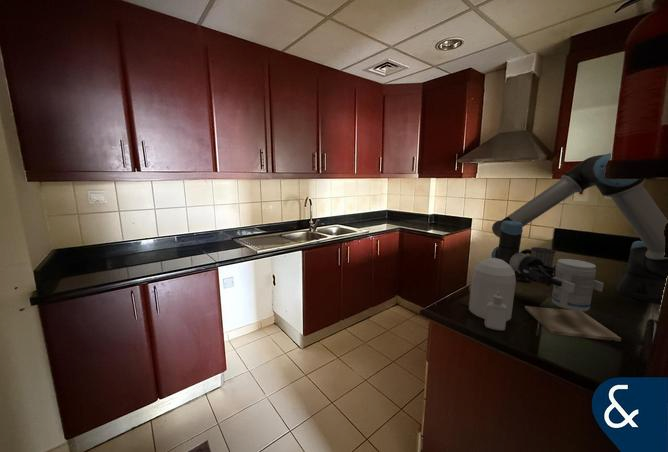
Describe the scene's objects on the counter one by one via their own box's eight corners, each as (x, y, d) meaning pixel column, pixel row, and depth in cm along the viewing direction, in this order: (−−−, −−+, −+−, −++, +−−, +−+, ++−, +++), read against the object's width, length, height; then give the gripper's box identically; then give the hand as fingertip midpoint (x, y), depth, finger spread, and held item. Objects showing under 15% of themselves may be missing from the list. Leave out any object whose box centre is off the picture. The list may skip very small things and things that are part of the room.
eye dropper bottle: (501, 333, 82) (506, 297, 80) (482, 326, 87) (486, 291, 85) (506, 328, 85) (511, 293, 83) (487, 321, 89) (491, 287, 87)
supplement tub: (593, 307, 87) (601, 264, 84) (583, 315, 81) (592, 269, 79) (556, 296, 95) (563, 256, 92) (545, 303, 89) (552, 261, 87)
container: (516, 324, 88) (524, 266, 84) (470, 317, 92) (476, 261, 89) (505, 307, 100) (512, 255, 97) (466, 301, 105) (471, 251, 101)
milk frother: (551, 279, 129) (556, 249, 127) (549, 288, 118) (554, 256, 115) (516, 272, 139) (520, 244, 136) (511, 280, 127) (514, 250, 125)
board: (581, 313, 95) (581, 311, 95) (620, 341, 79) (621, 338, 79) (524, 308, 99) (525, 305, 99) (551, 333, 83) (551, 330, 82)
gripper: (550, 273, 106) (615, 297, 84) (499, 275, 103) (554, 300, 81) (553, 255, 105) (620, 275, 83) (502, 256, 102) (558, 277, 80)
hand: (587, 287), depth 82 cm, fingers closed on supplement tub, 9 cm apart
